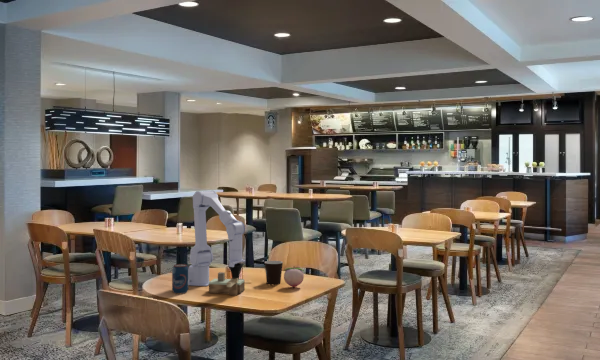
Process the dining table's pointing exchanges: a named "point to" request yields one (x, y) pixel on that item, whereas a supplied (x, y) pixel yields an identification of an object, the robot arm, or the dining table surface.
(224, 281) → the lid
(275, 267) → the coffee mug
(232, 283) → the key
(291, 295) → the dining table surface
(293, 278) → the decorative fruit
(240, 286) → the toolbox
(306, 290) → the dining table surface
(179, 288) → the soda can
